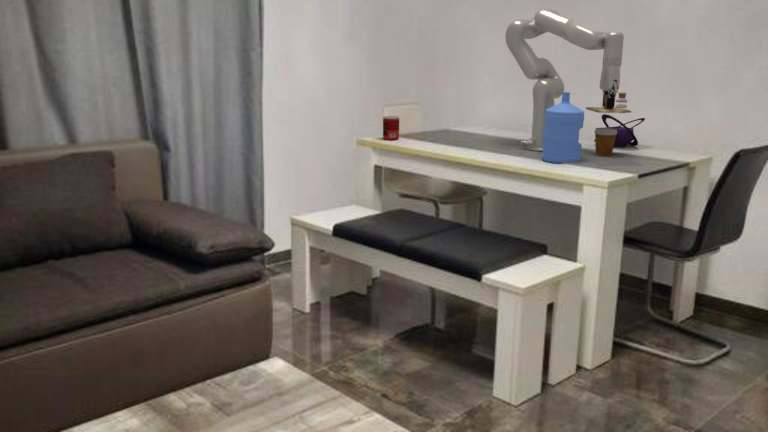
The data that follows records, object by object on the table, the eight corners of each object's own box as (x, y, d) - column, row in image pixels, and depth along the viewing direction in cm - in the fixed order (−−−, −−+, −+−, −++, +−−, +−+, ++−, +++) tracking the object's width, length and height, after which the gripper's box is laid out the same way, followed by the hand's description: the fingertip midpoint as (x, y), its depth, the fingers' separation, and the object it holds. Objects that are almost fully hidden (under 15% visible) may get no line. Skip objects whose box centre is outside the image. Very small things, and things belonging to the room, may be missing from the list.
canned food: (401, 139, 354) (402, 116, 351) (393, 141, 347) (393, 118, 344) (388, 137, 358) (388, 115, 355) (379, 139, 351) (380, 117, 348)
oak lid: (598, 112, 299) (599, 96, 297) (585, 109, 312) (587, 93, 311) (631, 112, 300) (632, 96, 299) (617, 109, 314) (618, 93, 312)
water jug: (557, 165, 290) (562, 94, 283) (534, 158, 304) (538, 91, 297) (588, 162, 296) (594, 93, 289) (564, 156, 310) (569, 90, 303)
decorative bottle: (652, 149, 332) (657, 94, 326) (612, 151, 326) (617, 95, 319) (622, 142, 353) (627, 90, 346) (584, 143, 346) (589, 90, 340)
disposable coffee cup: (611, 159, 305) (614, 131, 302) (589, 157, 310) (591, 129, 307) (617, 156, 313) (620, 128, 310) (595, 154, 318) (598, 126, 315)
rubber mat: (600, 168, 285) (600, 165, 285) (585, 161, 300) (585, 158, 300) (644, 167, 287) (644, 165, 287) (626, 160, 302) (627, 158, 302)
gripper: (595, 61, 309) (592, 105, 313) (611, 63, 293) (607, 109, 297) (612, 61, 310) (608, 105, 314) (629, 63, 294) (625, 109, 298)
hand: (608, 106), depth 306 cm, fingers closed on oak lid, 3 cm apart
